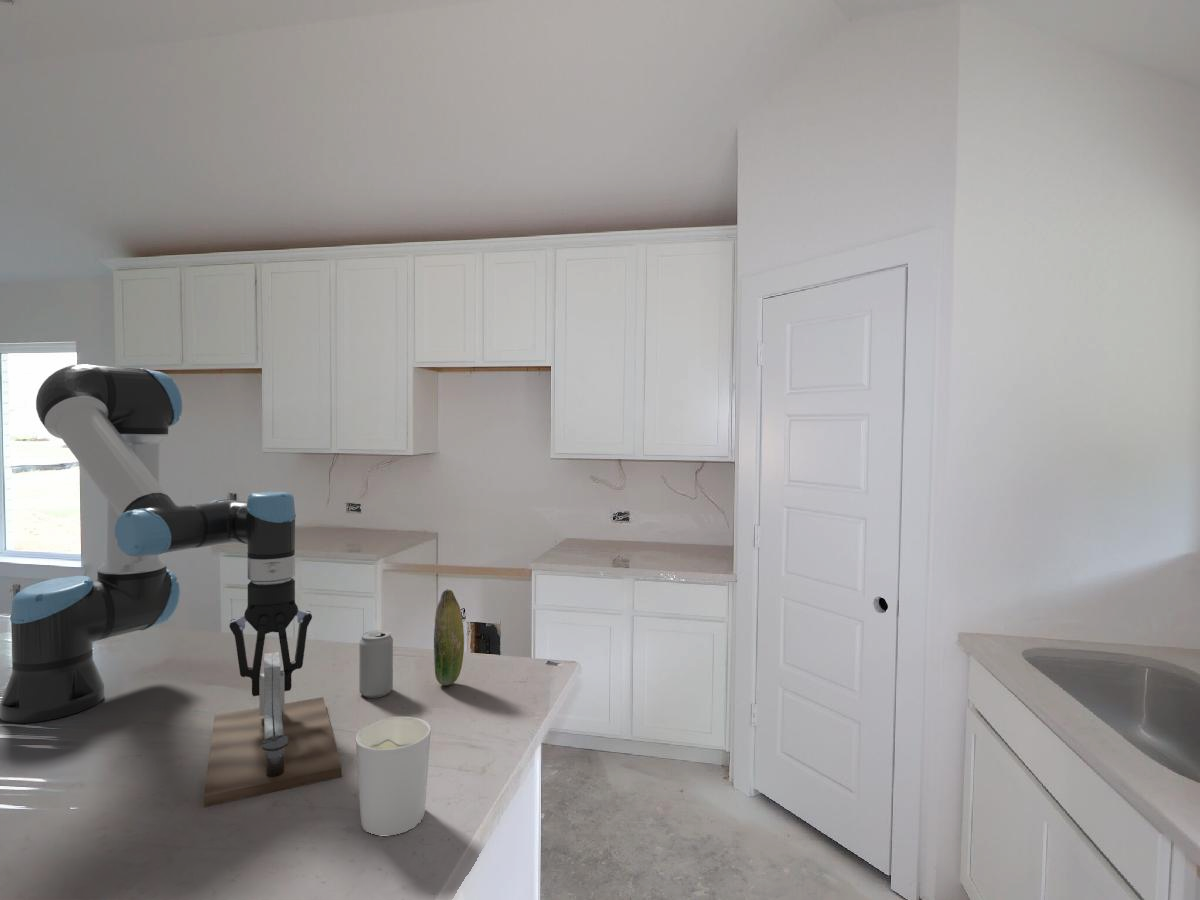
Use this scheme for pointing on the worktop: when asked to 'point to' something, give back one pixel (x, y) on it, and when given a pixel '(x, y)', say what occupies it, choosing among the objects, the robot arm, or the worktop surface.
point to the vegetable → (448, 639)
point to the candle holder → (392, 774)
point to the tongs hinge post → (275, 754)
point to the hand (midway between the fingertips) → (271, 710)
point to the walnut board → (243, 759)
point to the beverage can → (376, 663)
